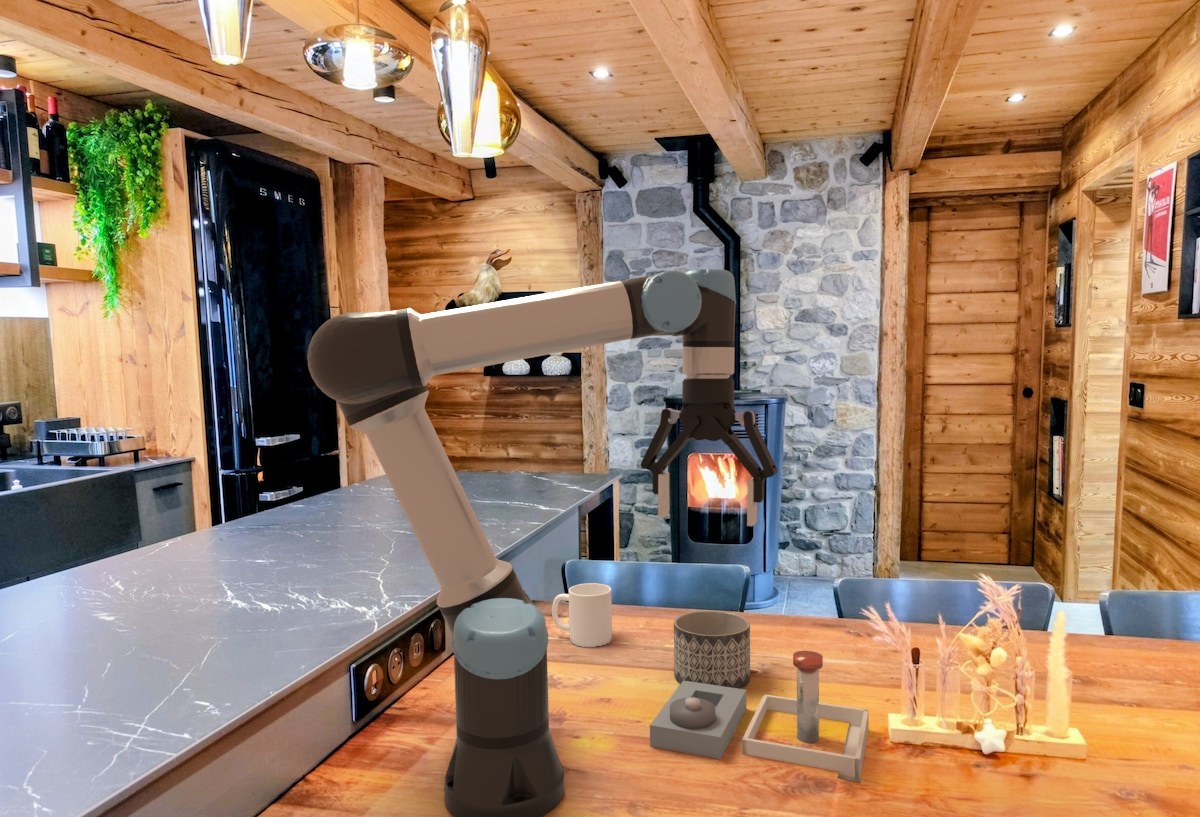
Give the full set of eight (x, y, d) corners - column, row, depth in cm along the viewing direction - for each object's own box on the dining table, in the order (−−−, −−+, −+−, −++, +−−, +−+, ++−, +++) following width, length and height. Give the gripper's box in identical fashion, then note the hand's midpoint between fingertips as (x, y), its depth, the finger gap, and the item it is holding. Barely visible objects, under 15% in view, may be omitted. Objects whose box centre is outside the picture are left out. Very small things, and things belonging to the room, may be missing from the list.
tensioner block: (720, 766, 105) (720, 718, 105) (650, 752, 109) (649, 706, 109) (746, 715, 120) (746, 673, 120) (683, 705, 124) (683, 664, 124)
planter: (660, 677, 135) (659, 617, 134) (720, 662, 141) (720, 605, 140) (702, 705, 124) (701, 640, 123) (766, 688, 130) (765, 626, 129)
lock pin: (820, 749, 108) (820, 663, 107) (791, 744, 110) (791, 659, 109) (824, 736, 112) (824, 652, 111) (795, 731, 113) (795, 649, 112)
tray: (859, 782, 101) (859, 759, 101) (742, 760, 107) (742, 739, 106) (868, 729, 115) (868, 709, 115) (764, 713, 121) (764, 694, 120)
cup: (606, 649, 148) (605, 596, 148) (546, 644, 151) (544, 593, 151) (616, 634, 156) (615, 584, 156) (559, 630, 159) (557, 581, 159)
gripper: (799, 377, 113) (796, 523, 115) (639, 375, 124) (638, 508, 125) (788, 378, 106) (785, 533, 108) (620, 376, 117) (619, 517, 118)
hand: (706, 520), depth 116 cm, fingers open, 13 cm apart
